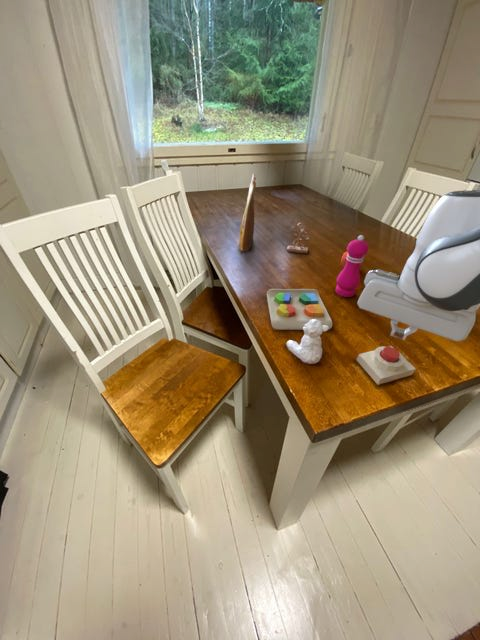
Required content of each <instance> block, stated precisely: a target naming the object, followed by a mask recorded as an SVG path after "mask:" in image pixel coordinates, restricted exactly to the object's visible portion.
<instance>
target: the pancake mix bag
mask: <svg viewBox="0 0 480 640" xmlns="http://www.w3.org/2000/svg"><path fill="white" fill-rule="evenodd" d="M256 179H257V175H256V174H255V172H252V177H251V180H250V184H249V188H248V194H247V199H246V204H245V208H244V212H243V216H242V220H241V223H240V229H239V237H238V250H239V251H241V252H243V253H244V252H247V251H249V250H250V249H251V246H252V243H253V239H254V232H255V197H254V196H255V195H254V194H255V190H256V186H257V182H256Z"/></svg>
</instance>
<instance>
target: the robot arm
mask: <svg viewBox="0 0 480 640" xmlns="http://www.w3.org/2000/svg"><path fill="white" fill-rule="evenodd" d="M363 284H364V288H363V290H362V292H361V293H360V296H359V298H358V300H357V302H356V303H357V306H358V308H359V309H361V310H364V311H367V312H370V313H373V314H375V315H378V316H381V317H385V318H387V319H390V321H389V323H390V328H391V332H390V335H389V336H390V337H394V338H396V339H399V340H401V341H406V338H407V337H408V336H410V335H413V334H414V333H417V331H418V330H421V331H425V332H428V333H431V334H433V335H436V336H439V337H442V338H445V339H447V340H451V341H454V342H462V341H465V340H466V339H467V338H468V336H469V335H470V333H471V331H472V329H473V327H474V325H475V323H476V318H477V317H476V316H477V311H478V310H479V308H480V189H478V190H477V189H473V190H465V189H464V190H454V191H450V192H448V193H446V194H443V195H442V196H441V197H440V198H439V199H438V200H437V201H436V202H435V204H434V205H433V207H432V208H431V210H430V212H429V213H428V215H427V217H426V218H425V220H424V223H423V224H422V227H421V228H420V231H419V233H418V236H417V238H416V240H415V248H414V250H413V252H412V254H411V255H410V256H409V257H408V259H407V260H406V262H405V265H404V267H403V269H402V271H401V273H400V274H398V273H396V272H395V273H394V272H391V271H386V270H383V269H381V268H377V269H372V270H369V271H368V272H367V273H366V275H365V277H364V279H363ZM399 323H402V324H405V325H407V326H409V327H407V328H405V329H404V328H402V327H399V326H398V324H399Z"/></svg>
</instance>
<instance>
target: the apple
mask: <svg viewBox="0 0 480 640" xmlns="http://www.w3.org/2000/svg"><path fill="white" fill-rule="evenodd" d="M347 254H348V251H347V250H346V251H345V252H344V253H343V254H342V255H341V259H340V263H341V266H342V268H344V267H345V265H346V263H347V259H346V257H347ZM364 261H365V258H364V259H363V262H361V264H360V267H359V269H360V268H362V266H363V264H364Z"/></svg>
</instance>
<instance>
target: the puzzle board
mask: <svg viewBox="0 0 480 640" xmlns="http://www.w3.org/2000/svg"><path fill="white" fill-rule="evenodd" d="M266 301H267V306H268V313H269V318H270V324H271V327H272V329H273V330H275V331H304V330H303V327H304V326H305V324H307V323H308V322H309V321H310V320H312V319H316V320H319V321H321V322H322V325H327V326H328V327H329V328H328V330H327V331H329V330H331V329H332V328H333V319H332V317H331V316H330V314H329V311H328V310H327V308H326V306H325V303H324V302H323V300H322V298H321V296H320V293H319V291H318V290H317V289H316V288H270V289H268V290H267V291H266Z"/></svg>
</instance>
